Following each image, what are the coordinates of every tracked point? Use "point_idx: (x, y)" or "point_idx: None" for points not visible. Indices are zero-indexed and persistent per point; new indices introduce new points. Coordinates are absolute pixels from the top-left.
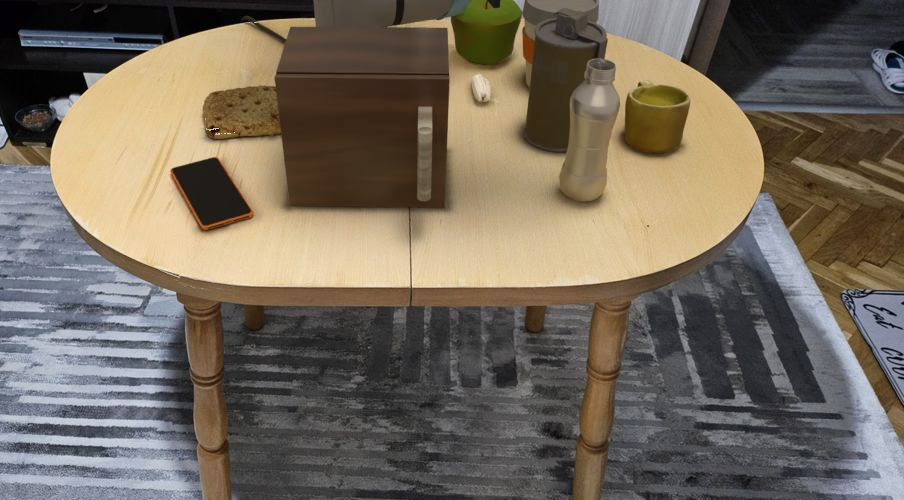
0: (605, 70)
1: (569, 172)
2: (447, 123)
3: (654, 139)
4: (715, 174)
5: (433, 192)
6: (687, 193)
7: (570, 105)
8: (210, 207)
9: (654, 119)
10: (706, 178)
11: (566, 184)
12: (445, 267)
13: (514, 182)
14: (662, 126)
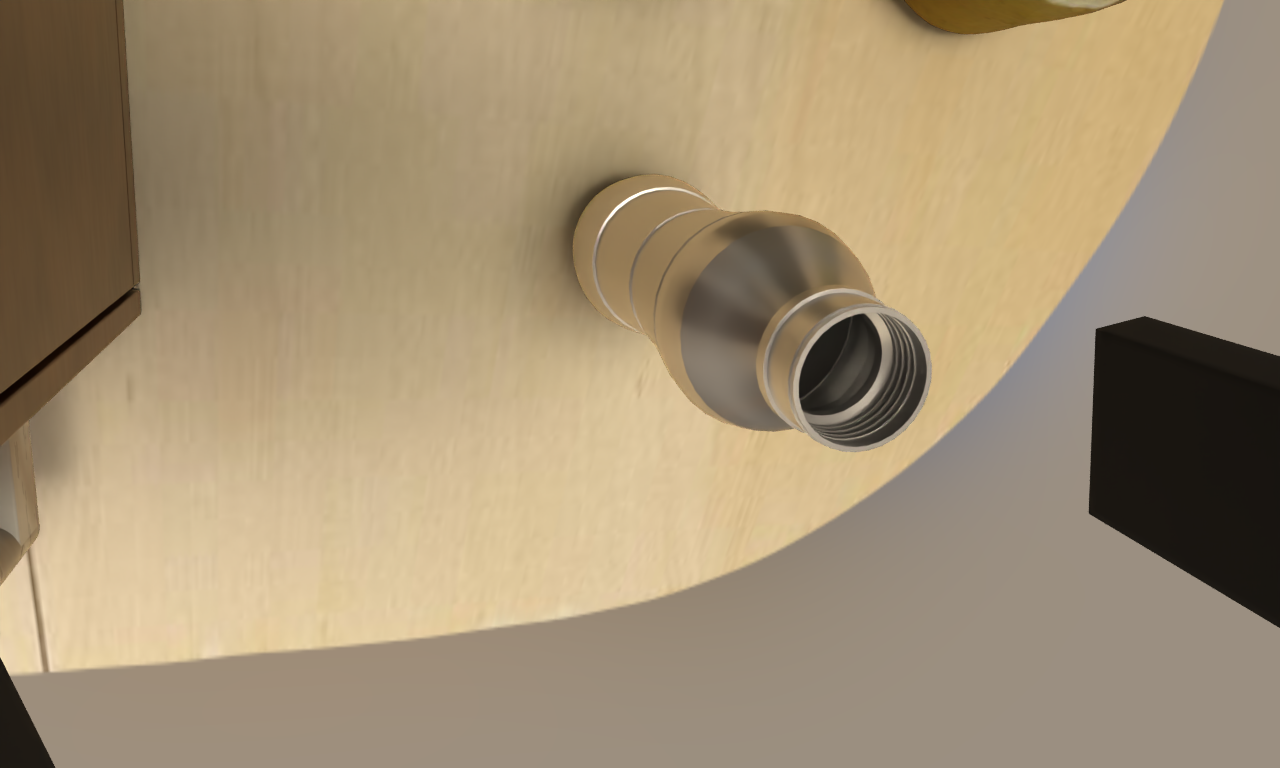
0: (859, 447)
1: (605, 301)
2: (6, 439)
3: (963, 23)
4: (1054, 155)
5: None
6: (939, 252)
7: (658, 324)
8: None
9: (1003, 7)
10: (1021, 175)
11: (588, 297)
12: (157, 606)
13: (422, 156)
14: (1013, 22)
